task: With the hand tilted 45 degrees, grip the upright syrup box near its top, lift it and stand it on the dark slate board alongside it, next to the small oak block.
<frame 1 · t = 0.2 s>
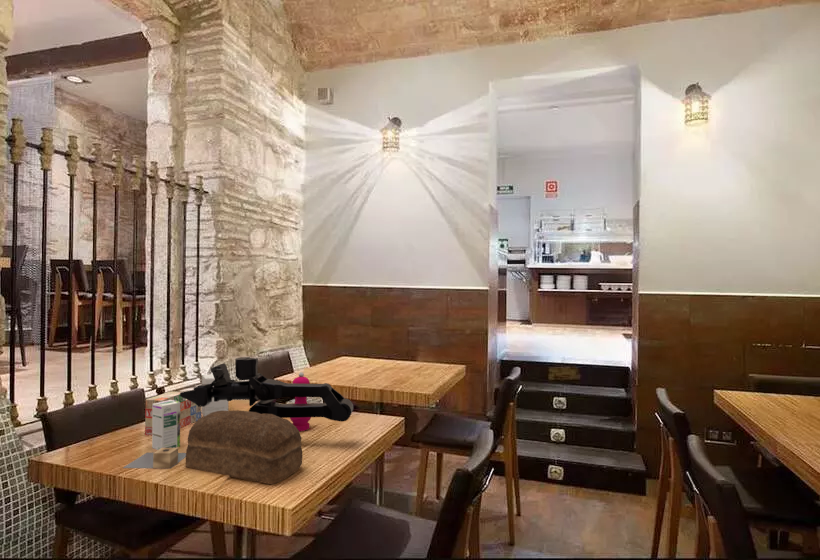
hand: (187, 391, 150), 16 cm above the table, tool horizontal, fingers open, 9 cm apart
oak block: (165, 465, 130), resting on slate board
stack of blocks: (174, 427, 168), on the table
bread: (243, 469, 130), on the table
slate board: (158, 462, 133), on the table
syrup box: (165, 450, 144), on the table
pepper mill: (300, 429, 167), on the table
supplement box: (214, 414, 186), on the table
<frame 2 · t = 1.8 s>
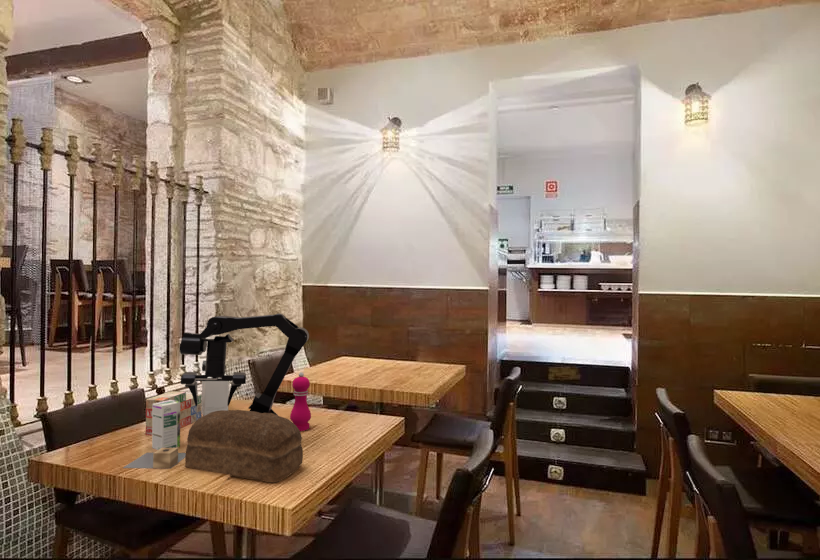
hand: (212, 405, 148), 13 cm above the table, tool pointing down, fingers open, 9 cm apart
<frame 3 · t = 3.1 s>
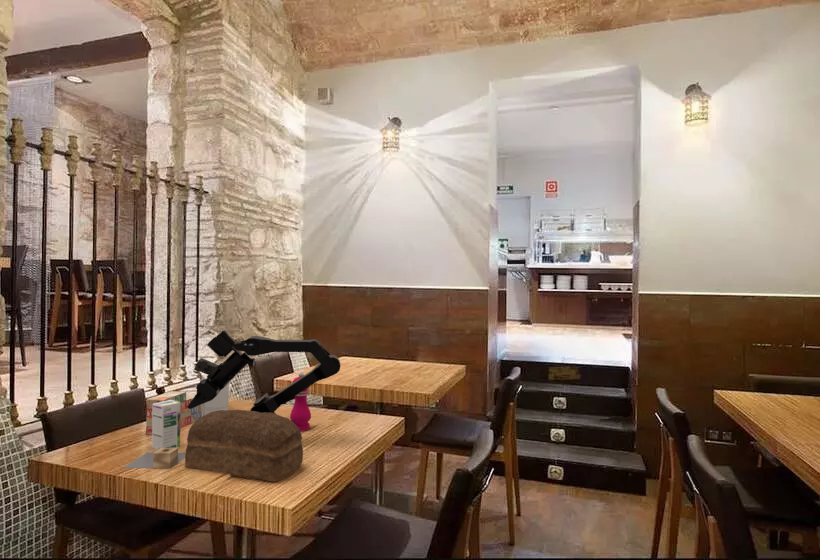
hand: (192, 404, 146), 14 cm above the table, tool tilted 45°, fingers open, 9 cm apart
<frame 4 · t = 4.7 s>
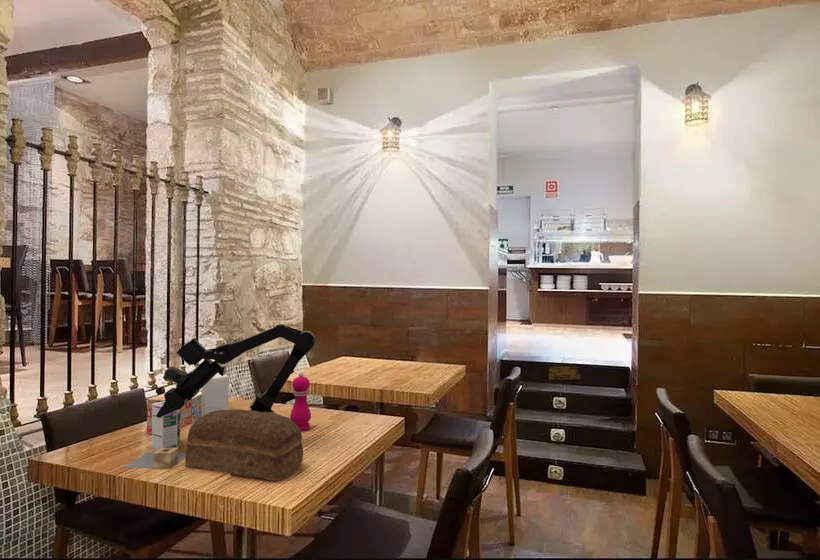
hand: (161, 413, 144), 11 cm above the table, tool tilted 45°, fingers closed on syrup box, 8 cm apart
syrup box: (165, 450, 144), on the table, touching gripper
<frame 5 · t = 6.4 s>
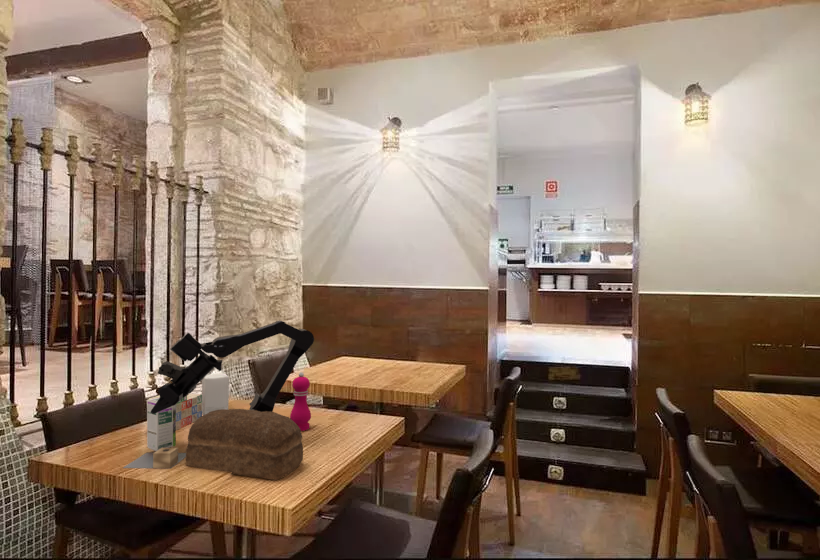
hand: (156, 409, 140), 13 cm above the table, tool tilted 45°, fingers closed on syrup box, 8 cm apart
syrup box: (161, 447, 140), point 2 cm above the table, touching gripper
when the fingers open (13 cm above the table, at t = 7.7 s): syrup box stays where it is, resting on slate board.
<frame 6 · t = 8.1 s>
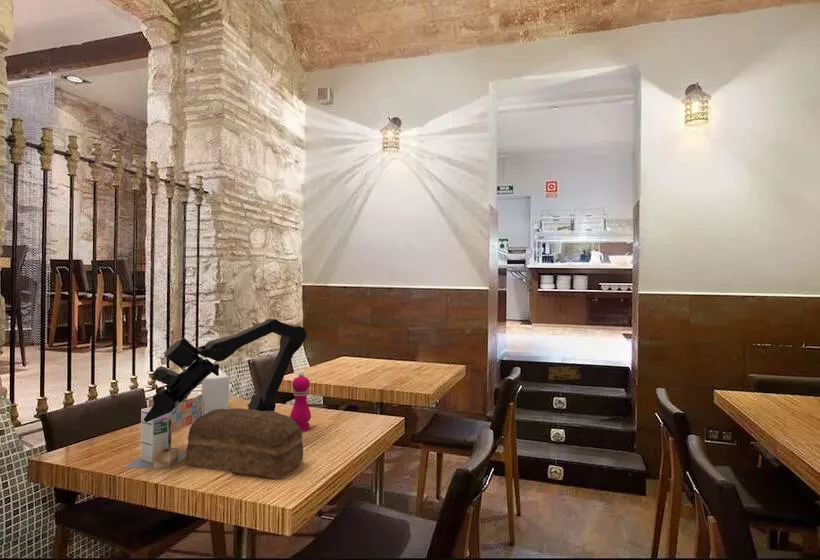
hand: (150, 416, 134), 13 cm above the table, tool tilted 45°, fingers open, 9 cm apart
syrup box: (155, 459, 135), point 1 cm above the table, touching slate board
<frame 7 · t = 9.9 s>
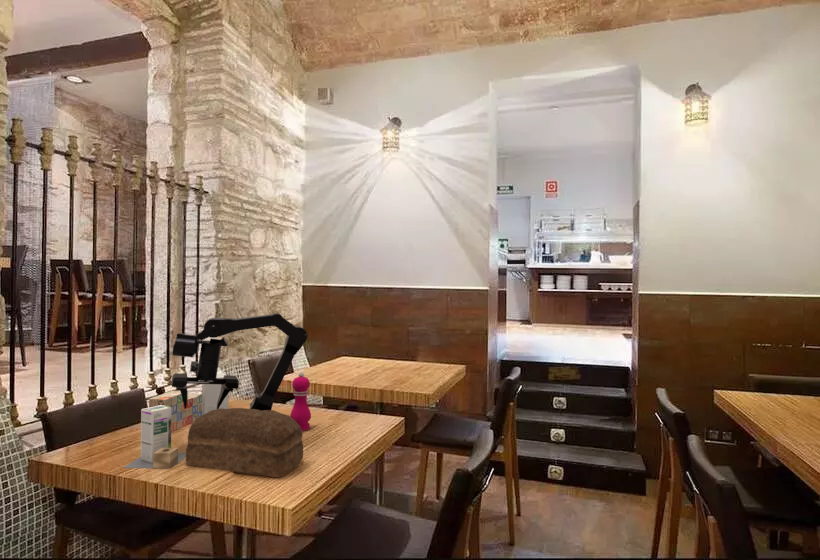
hand: (201, 408, 145), 12 cm above the table, tool pointing down, fingers open, 9 cm apart
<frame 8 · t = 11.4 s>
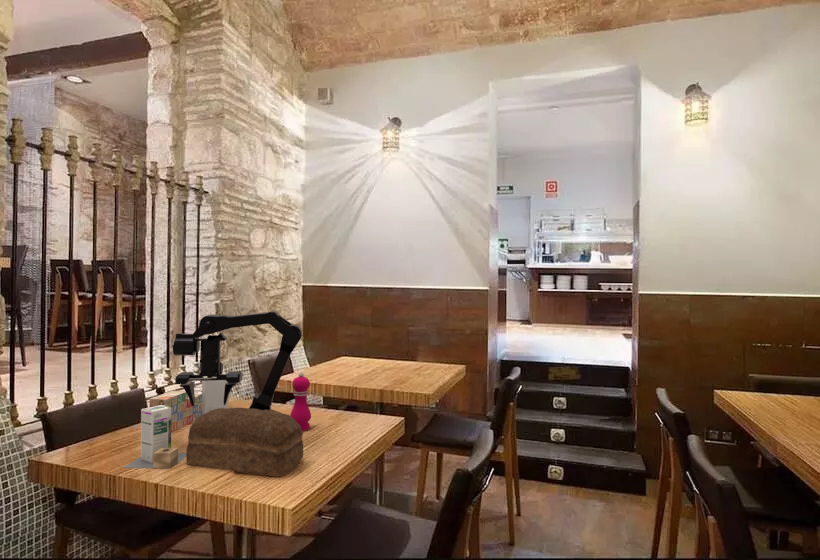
hand: (209, 405, 147), 13 cm above the table, tool pointing down, fingers open, 9 cm apart
at the end: syrup box inside the target area on the slate board (1.8 cm from its centre), point 0.6 cm above the slate board's base; syrup box tilted 0°; the gripper is holding nothing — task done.
